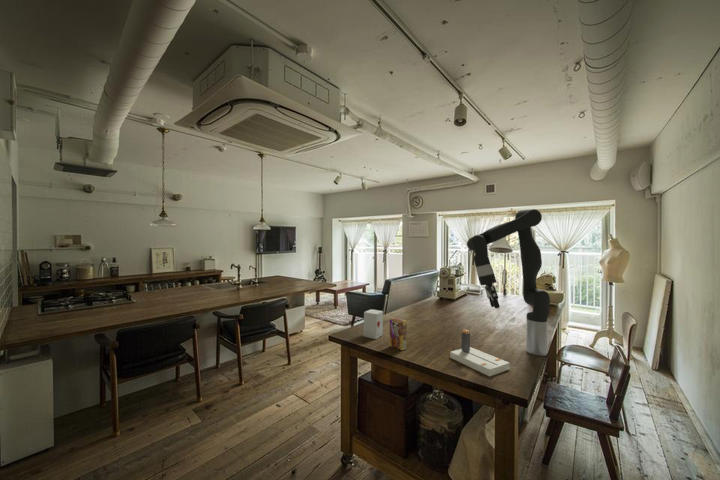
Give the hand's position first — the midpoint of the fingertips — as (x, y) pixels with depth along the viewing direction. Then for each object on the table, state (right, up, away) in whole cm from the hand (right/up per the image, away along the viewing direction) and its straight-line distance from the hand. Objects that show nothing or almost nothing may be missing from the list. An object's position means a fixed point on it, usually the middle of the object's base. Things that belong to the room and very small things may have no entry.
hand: (495, 307), depth 137 cm
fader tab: (-13, -23, +4) cm, 26 cm away
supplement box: (-58, -26, +34) cm, 72 cm away
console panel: (-9, -26, -3) cm, 28 cm away
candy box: (-45, -26, +16) cm, 55 cm away
